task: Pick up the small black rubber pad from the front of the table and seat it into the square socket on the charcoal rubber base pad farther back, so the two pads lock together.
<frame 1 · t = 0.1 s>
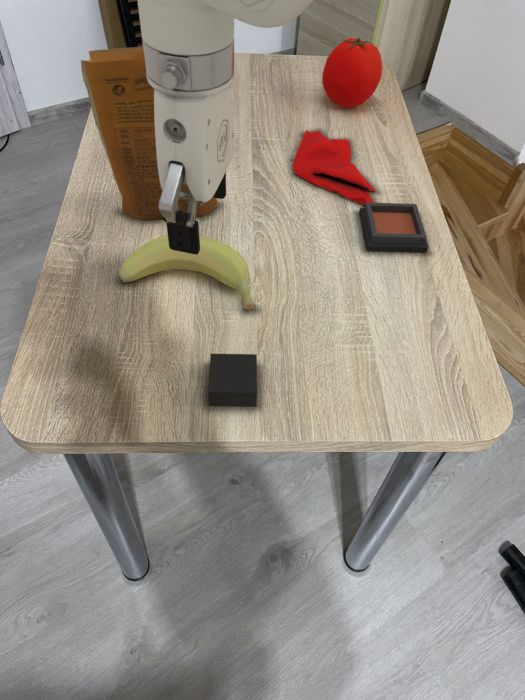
hand: (199, 221, 59), 21 cm above the table, tool pointing down, fingers open, 9 cm apart
cloth: (328, 169, 102), on the table
banana: (196, 286, 82), on the table
black pad: (233, 386, 71), on the table
base pad: (391, 232, 91), on the table
pancake mix bag: (171, 213, 92), on the table
tomato: (346, 104, 118), on the table
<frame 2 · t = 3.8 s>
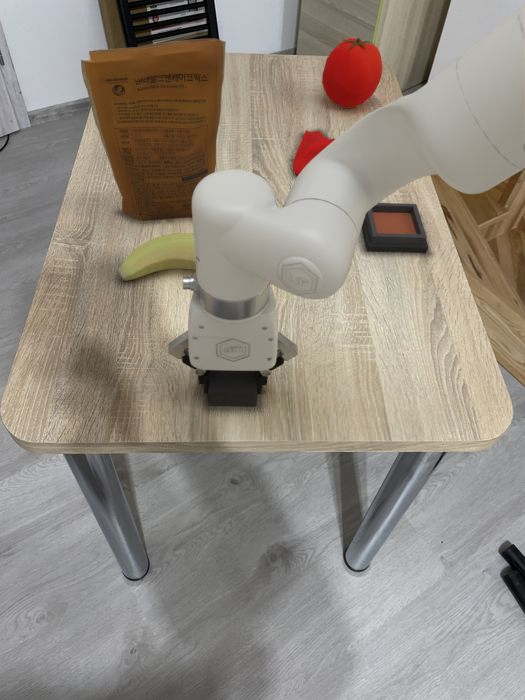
hand: (233, 384, 70), 1 cm above the table, tool pointing down, fingers closed on black pad, 6 cm apart
black pad: (233, 386, 71), on the table, touching gripper
everything else where it was.
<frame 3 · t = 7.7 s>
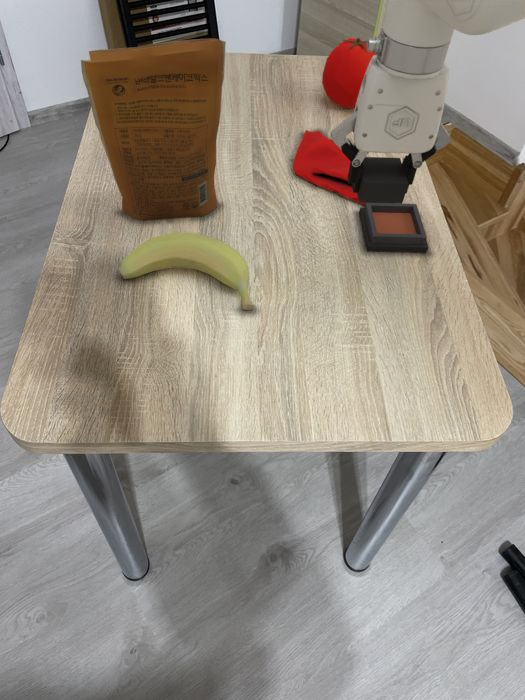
hand: (378, 186, 75), 15 cm above the table, tool pointing down, fingers closed on black pad, 6 cm apart
black pad: (377, 189, 75), point 14 cm above the table, touching gripper
everything else where it was.
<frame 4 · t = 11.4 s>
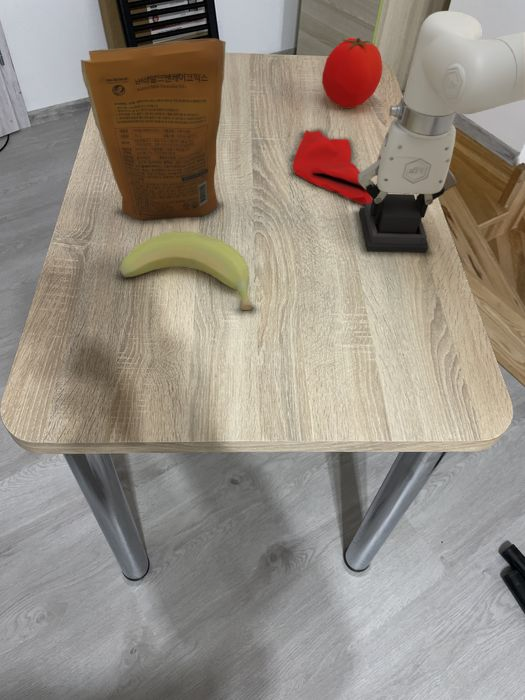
hand: (395, 218, 89), 3 cm above the table, tool pointing down, fingers closed on black pad, 6 cm apart
black pad: (394, 221, 90), point 2 cm above the table, touching gripper
everything else where it was.
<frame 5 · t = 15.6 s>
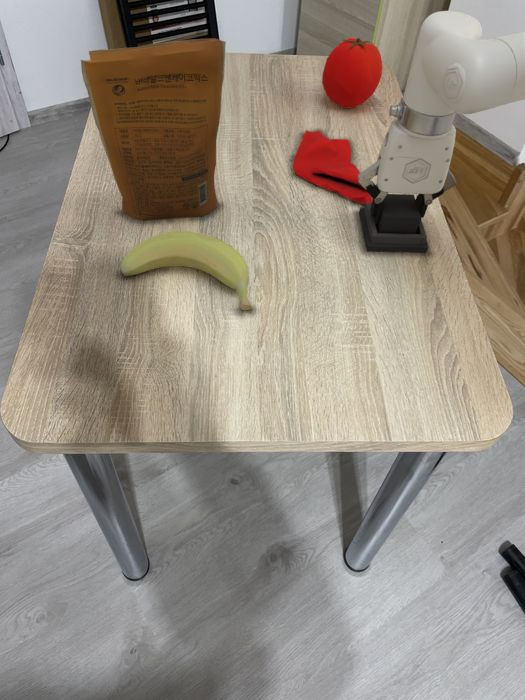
hand: (395, 218, 89), 3 cm above the table, tool pointing down, fingers closed on black pad, 5 cm apart
black pad: (394, 221, 90), point 2 cm above the table, touching gripper
everything else where it was.
when the fingers open (4 cm above the table, at t = 19.2 s): black pad drops 2 cm, resting on base pad.
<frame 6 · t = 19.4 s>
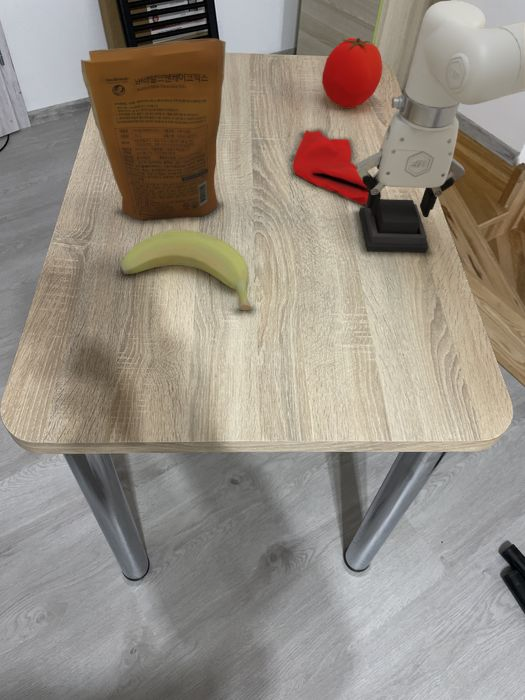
hand: (398, 210, 88), 4 cm above the table, tool pointing down, fingers open, 8 cm apart
black pad: (393, 226, 90), point 1 cm above the table, touching base pad
everything else where it was.
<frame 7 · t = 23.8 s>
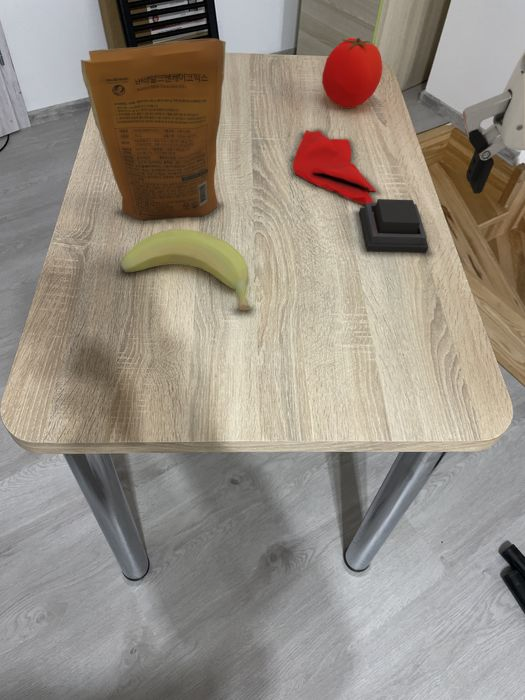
hand: (516, 187, 59), 24 cm above the table, tool pointing down, fingers open, 9 cm apart
nothing on the table moved.
at the end: black pad 0.0 cm off-centre on the base pad, point 1.3 cm above the base pad's base; black pad tilted 0°; the gripper is holding nothing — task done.
